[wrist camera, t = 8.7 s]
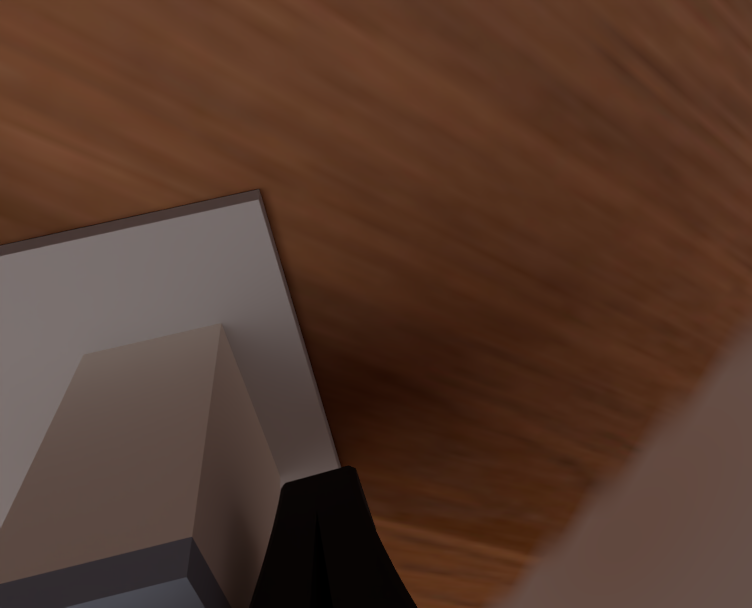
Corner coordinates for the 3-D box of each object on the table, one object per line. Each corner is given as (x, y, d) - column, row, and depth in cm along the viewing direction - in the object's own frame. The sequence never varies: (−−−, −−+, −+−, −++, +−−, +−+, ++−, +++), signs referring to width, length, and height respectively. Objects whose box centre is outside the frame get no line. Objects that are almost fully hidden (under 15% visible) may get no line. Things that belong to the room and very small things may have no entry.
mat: (259, 189, 11) (258, 199, 11) (351, 503, 17) (354, 520, 16) (-351, 322, 11) (-381, 339, 10) (-55, 604, 16) (-66, 624, 16)
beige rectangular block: (221, 322, 12) (186, 576, 7) (280, 476, 15) (285, 740, 10) (83, 354, 12) (-51, 636, 7) (167, 503, 15) (114, 786, 10)
